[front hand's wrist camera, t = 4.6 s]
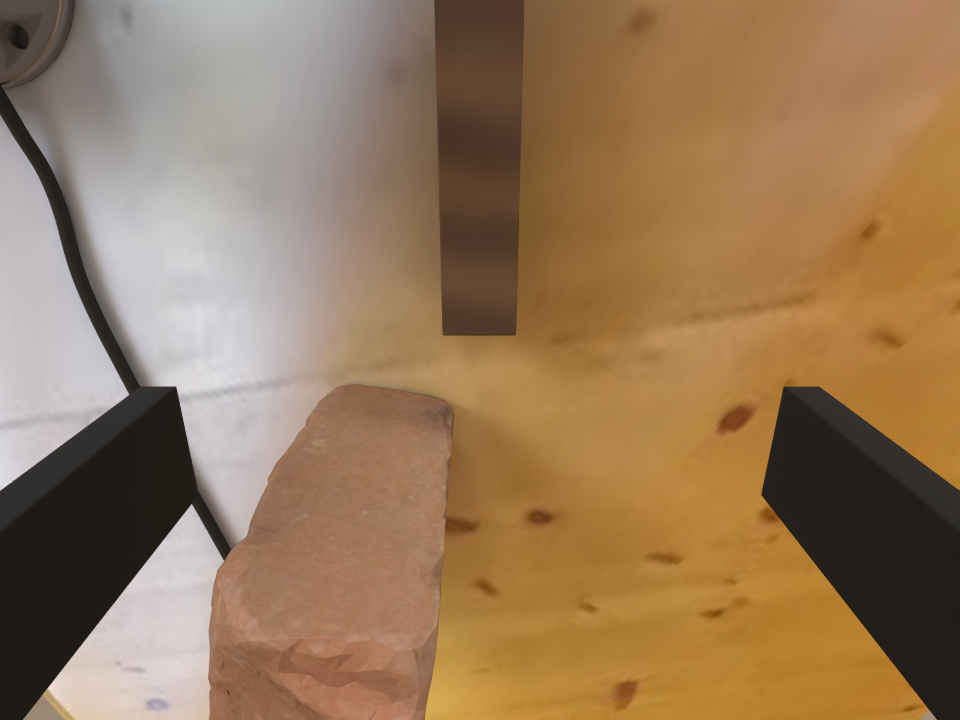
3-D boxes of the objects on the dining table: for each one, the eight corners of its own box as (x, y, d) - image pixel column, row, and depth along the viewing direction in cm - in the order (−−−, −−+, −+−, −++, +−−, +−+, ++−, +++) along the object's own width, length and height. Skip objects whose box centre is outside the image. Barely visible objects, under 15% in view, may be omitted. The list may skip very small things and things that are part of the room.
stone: (422, 595, 57) (374, 978, 30) (306, 578, 56) (154, 956, 29) (459, 395, 50) (439, 664, 23) (328, 374, 49) (154, 626, 23)
